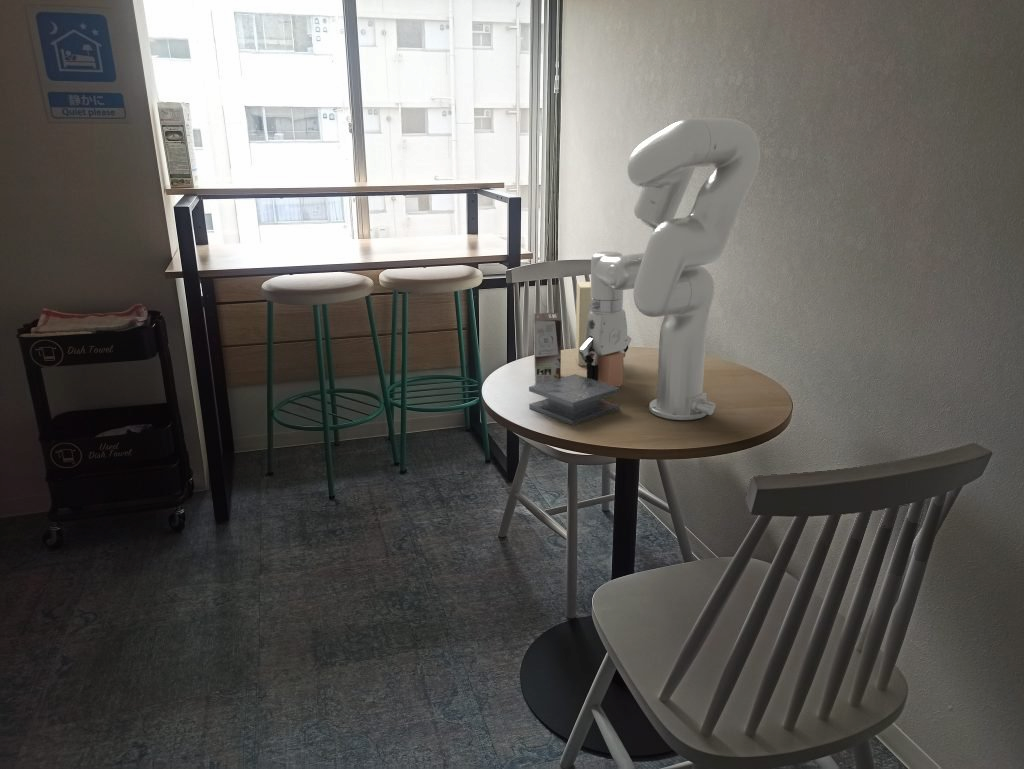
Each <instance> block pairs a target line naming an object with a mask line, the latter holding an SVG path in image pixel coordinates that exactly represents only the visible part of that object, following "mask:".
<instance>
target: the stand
mask: <svg viewBox="0 0 1024 769" xmlns="http://www.w3.org/2000/svg"><path fill="white" fill-rule="evenodd" d="M528 389H529V390H528V392H530V393H533V394H536V395H538V396H541V397H543V398H544V397H545V399H542V400H539V401H538V400H537V401H536V402H535V401H534V402H532V403H528V405H529V406H528V408H529V409H530V408H531V409H530V410H532V409H533V410H532V411H535V412H538V413H541V414H543V415H546V416H548V417H551V418H554V419H556V420H558V421H560V422H564V423H566V424H568V425H571V426H575V425H578V423H579V424H581V423H584V422H587V421H590V420H593V419H597V418H599V417H602V416H606V415H609V414H611V413H615V412H617V411H620V405H619V404H616V403H613V402H610V401H608V400H604V399H605V398H606V397H611V396H614V395H616V394H620V392H621V388H620V387H619V386H618V387H615V386H611V385H608V384H605V383H602V382H599V381H596V380H592V379H589V378H587V376H586V377H585V376H583V375H579V374H577V373H574V374H570V375H566V376H563V377H560V378H559V379H556V380H552V381H548V382H545V383H541V384H538V385H536V384H534V385H531V386H529V387H528Z"/></svg>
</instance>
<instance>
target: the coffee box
mask: <svg viewBox="0 0 1024 769" xmlns="http://www.w3.org/2000/svg"><path fill="white" fill-rule="evenodd" d="M533 318H534V319H533V322H534V323H533V324H534V325H533V332H534V334H533V335H534V336H533V338H534V339H533V340H534V342H533V346H534V347H533V348H534V354H533V355H534V382H535V383H534V385H538V384H541V383H545V382H548V381H552V380H556V379H559V378H561V376H562V375H561V371H562V370H561V365H562V364H561V356H562V354H561V353H562V350H561V349H562V318H561V316H560V313H559V312H543V313H534V315H533Z"/></svg>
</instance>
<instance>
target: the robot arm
mask: <svg viewBox="0 0 1024 769" xmlns="http://www.w3.org/2000/svg"><path fill="white" fill-rule="evenodd" d="M760 162H761V147H760V143H759V139H758V137H757V134H756V133H755V131H754V129H752V128H751V126H749V124H747V123H745V122H744V121H740V120H737V119H735V118H724V117H716V118H715V117H712V118H704V117H701V118H700V117H695V118H694V117H693V118H684V119H680V120H679V121H676V122H674V123H672V124H670V125H669V126H666V127H665V128H664V129H662V130H660V131H658V132H657V133H655V134H653V135H651V136H650V137H648V138H647V139H644V140H643V141H642V142H640V144H638V145H637V147H635V149H634V150H633V151H632V153H631V154H630V155H629V159H628V162H627V174H628V178H629V180H630V182H631V183H632V184H633V185H635V186H636V187H638V188H641V190H640V192H639V195H638V198H637V200H636V203H635V205H634V208H633V213H634V215H635V217H636V218H637V219H638V220H639V221H640V222H641V223H642V224H644V225H646V226H647V227H649V228H651V229H652V232H651V233H652V234H650V237H649V240H648V242H647V245H646V248H645V250H644V252H641V253H634V254H633V253H631V254H626V255H623V254H622V253H620V252H617V251H599V252H595V253H594V254H593V255H592V256H591V259H590V260H591V261H590V282H591V304H589V308H590V309H591V312H589V317H588V322H587V331H586V342H585V343H584V344H583V345H582V347H581V348H580V349H579V353H580V354H581V356H582V359H583V360H584V361H585V363H587V366H586V378H589V379H592V380H596V381H598V365H596V363H597V361H598V359H599V357H600V356H604V355H608V354H612V353H616V352H621V353H624V355H623V360H624V358H625V357H626V356H627V354H626V353H627V351H628V350H629V346H630V343H631V342H632V338H631V337H630V336H629V335H628V323H627V316H626V310H625V308H623V306H624V305H623V304H624V291H626V290H627V291H628V290H633V301H634V305H635V306H636V309H637V310H638V311H639V312H640V313H641V314H642V315H644V316H647V317H650V318H659V317H663V319H662V322H661V325H660V329H659V340H658V341H659V342H658V361H657V362H658V363H657V386H656V387H657V388H656V398H655V399H653V400H651V401H650V402H649V405H648V410H649V411H650V412H651V413H652V414H653V415H655V416H657V417H659V418H662V419H667V420H676V421H694V420H698V419H702V418H705V417H706V416H707V415H709V416H712V415H713V414H714V412H715V409H716V403H715V402H711V401H708V400H707V393H706V392H703V386H704V374H705V372H704V370H705V357H706V345H707V344H706V342H707V331H708V330H707V329H708V321H709V320H708V319H709V315H710V311H711V310H710V309H711V308H712V304H713V299H714V294H715V282H714V278H713V276H712V275H711V273H710V272H709V270H708V269H706V268H705V267H703V266H705V265H708V264H712V263H714V262H716V261H718V260H719V259H720V257H721V256H722V254H723V253H724V250H725V248H726V246H727V244H728V240H729V238H730V236H731V233H732V231H733V228H734V226H735V224H736V221H737V219H738V216H739V213H740V211H741V207H742V206H743V204H744V201H745V199H746V198H747V195H748V193H749V191H750V189H751V186H753V183H754V182H755V178H756V177H757V174H758V171H759V166H760ZM699 167H700V168H701V167H702V168H703V167H714V170H713V172H712V173H711V175H710V176H708V178H706V180H705V181H704V183H703V184H702V185H701V187H700V189H699V191H698V193H697V195H696V198H695V200H694V204H693V206H692V208H691V211H690V212H689V213H688V215H686V216H685V217H679V218H675V216H676V214H677V212H678V209H679V206H680V204H681V203H682V199H683V197H684V195H685V193H686V190H687V188H688V186H689V184H690V182H691V180H692V176H693V175H694V171H695V168H699ZM593 355H594V358H593V359H592V356H593Z"/></svg>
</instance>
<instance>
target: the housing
mask: <svg viewBox="0 0 1024 769" xmlns="http://www.w3.org/2000/svg"><path fill="white" fill-rule="evenodd" d="M623 355H624V353H621V352H616V353H612V354H608V355H604V356H600V357H599V359H598V361H597V363H596V365H598V381H599V382H602V383H605V384H608V385H611V386H615V387H616V386H618V387H620V386H619V385H621V386H623V385H622V384H624V383H623V382H624V379H623V377H624V359H623ZM593 358H594V355H593V356H592V359H593Z"/></svg>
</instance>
